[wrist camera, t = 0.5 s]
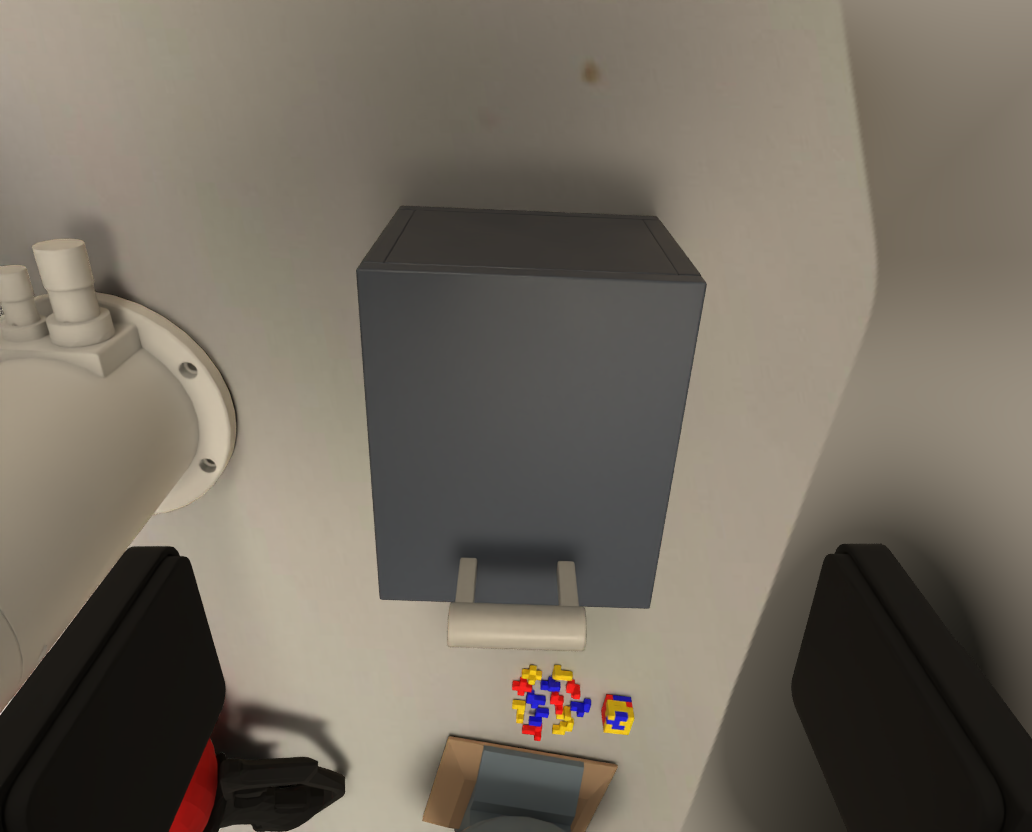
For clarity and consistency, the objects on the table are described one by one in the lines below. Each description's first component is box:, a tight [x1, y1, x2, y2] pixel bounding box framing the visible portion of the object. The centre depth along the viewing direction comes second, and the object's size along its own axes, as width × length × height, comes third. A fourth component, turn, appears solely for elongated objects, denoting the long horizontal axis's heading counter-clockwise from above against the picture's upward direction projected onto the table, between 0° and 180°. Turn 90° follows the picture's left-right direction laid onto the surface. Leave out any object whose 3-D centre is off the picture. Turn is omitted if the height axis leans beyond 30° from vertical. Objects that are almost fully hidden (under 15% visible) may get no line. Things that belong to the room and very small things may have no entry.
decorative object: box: [169, 738, 345, 832], centre depth 45 cm, size 12×16×20 cm
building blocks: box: [512, 665, 634, 741], centre depth 46 cm, size 6×8×2 cm
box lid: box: [356, 263, 707, 651], centre depth 25 cm, size 14×12×5 cm
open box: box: [361, 206, 701, 276], centre depth 31 cm, size 14×12×9 cm
